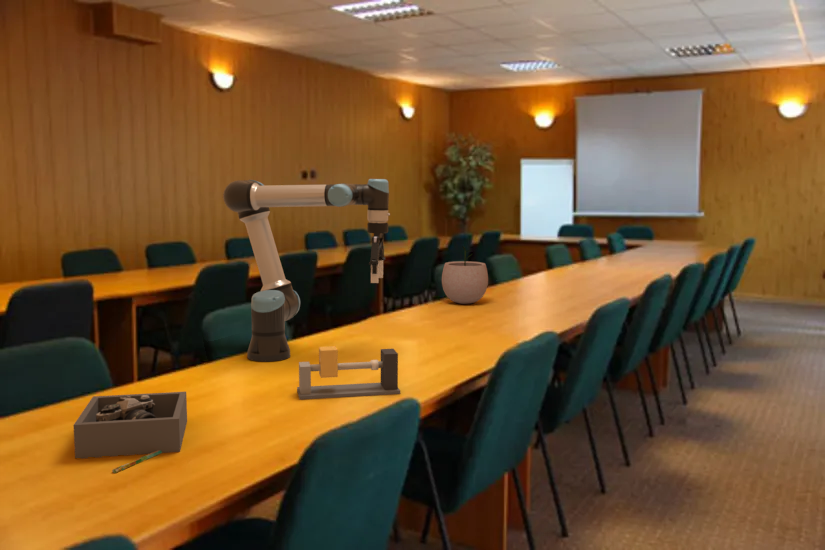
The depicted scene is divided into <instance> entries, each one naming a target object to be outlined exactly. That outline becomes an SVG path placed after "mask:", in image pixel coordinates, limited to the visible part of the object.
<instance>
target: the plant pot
mask: <svg viewBox="0 0 825 550" xmlns="http://www.w3.org/2000/svg"><path fill="white" fill-rule="evenodd" d="M462 248H463V250H464V261H448V262H445V263H444V265H443V269H442V274H441V287H442V290H443V292H444V294H445V296H446V297H447V298H448V299H449V300H450V301H452V302H453V303H456V304H462V305H471V304H474V303H476V302H478V301H480V300H481V299H482V298H483V297H484V295H485V294H486V292H487V289H488V286H489V274H488V268H487V265H486V263H485V262H480V261H468V259H469V257H471V256H472V255H473V253H471V254H469V255H468V256H467V252H468V253H469V252H470V251H472V250H471V249H469V250H468V249H466V247H465V246H463V245H462Z"/></svg>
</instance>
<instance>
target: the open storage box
mask: <svg viewBox="0 0 825 550" xmlns="http://www.w3.org/2000/svg"><path fill="white" fill-rule="evenodd" d="M142 395H149V397H150V398H152V400H153V403H154V404H155V405H154V406H153V408H154V415H155V417H156V418H150V419H134V420H117V421H100V422H96V414H98V413H99V412H101V410H102V409H103V408H104V406H106V405H109V404H111V405H116V403H117V402H118V401H119V399H120V398H124V397H126V396H131V398H135V399H136V400H139V399H140V398H141V396H142ZM187 401H188V400H187V391H171V392H152V393H136V394H117V395H116V394H115V395H97V396H92V397H91V399H90V400H89V401H88V403H87V404H86V406H85V407H84V409H83V410H82V412H81V413H80V415H79V417H78V418H77V419H76V421H75V422H74V423H73V425H72V426H73V439H74V441H73V443H74V459H75V458H81V459H89V458H88V457H95V458H103V457H102V456H110V457H119V456H118V455H124V456H135V454H136V455H137V454H138V455H148V454H150V453H153V452H155V451H158V450H161V451H162V453H161V454H164V453H167V454H168V453H178V452H179V453H180V452H181V450H182V447H183V445H182V444H183V441H184V436H185V431H186V428H187V424H188V409H187V407H188V404H187ZM138 455H137V456H138Z"/></svg>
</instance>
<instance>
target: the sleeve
mask: <svg viewBox="0 0 825 550" xmlns="http://www.w3.org/2000/svg"><path fill="white" fill-rule="evenodd" d="M338 352H339V351H338V348H337V347H336V345H335V346H333V345H332V346H318V364H320V365H321V371H318V373H319V374H318V375H319V377H320V379H323V378H324V379H325V378H329V379H330V378H338V377H339V375H338V374H339V372H338V371H339V370H338V362H339V361H338V360H339V359H338V358H339V357H338V356H339V355H338Z"/></svg>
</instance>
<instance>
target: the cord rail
mask: <svg viewBox="0 0 825 550" xmlns="http://www.w3.org/2000/svg"><path fill="white" fill-rule="evenodd" d="M362 369H364V370H368V369H369V370H371V371H378V370H379V369H380V382H366V383H350V384H349V383H348V384H347V383H346V384H331V385H330V384H329V385H312V376H311V375H312V372H319V371H321V365H320V364H319V363H317V364H311V363H310V361H299V362H298V380H299V381H298V386H297V387H296V390H297V395H298V400H319V399H334V398H336V399H337V398H351V397H368V396H370V397H371V396H385V395H386V396H388V395H389V396H390V395H401V390H400V388H399V384H398V383H399V382H398V381H399V376H398V375H399V353H398V352H397V350H395V349H394V348H380V361H379V360H378V359H370V361H360V362H359V361H357V362H342V363H341V362H339V363H338V371H345V370H347V371H348V370H362Z"/></svg>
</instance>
